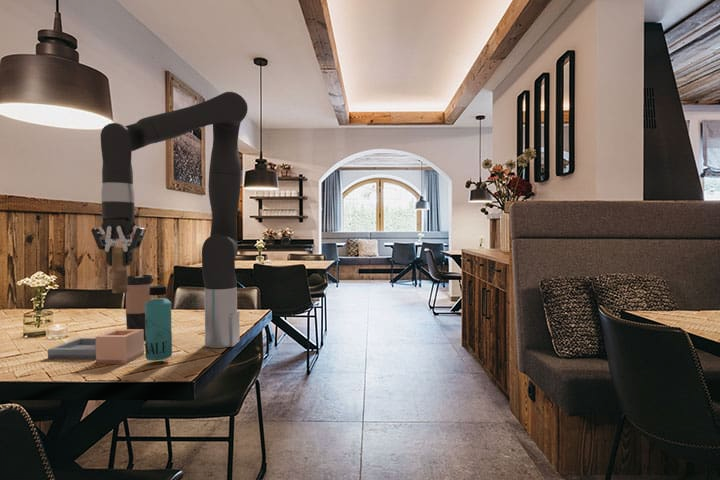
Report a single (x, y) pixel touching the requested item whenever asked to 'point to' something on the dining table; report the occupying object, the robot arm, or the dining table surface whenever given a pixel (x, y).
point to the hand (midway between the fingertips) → (119, 265)
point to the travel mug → (137, 300)
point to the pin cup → (119, 346)
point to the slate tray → (74, 349)
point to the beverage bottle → (158, 326)
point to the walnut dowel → (118, 271)
